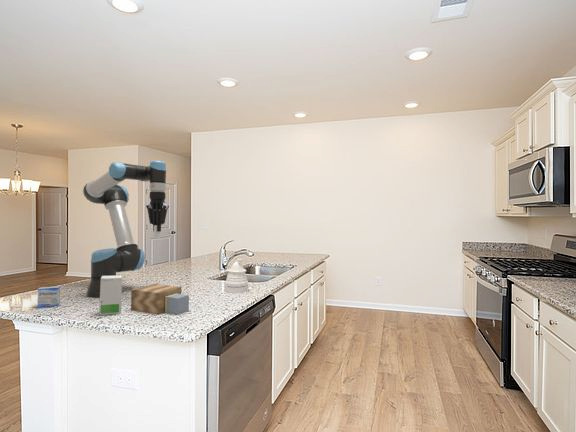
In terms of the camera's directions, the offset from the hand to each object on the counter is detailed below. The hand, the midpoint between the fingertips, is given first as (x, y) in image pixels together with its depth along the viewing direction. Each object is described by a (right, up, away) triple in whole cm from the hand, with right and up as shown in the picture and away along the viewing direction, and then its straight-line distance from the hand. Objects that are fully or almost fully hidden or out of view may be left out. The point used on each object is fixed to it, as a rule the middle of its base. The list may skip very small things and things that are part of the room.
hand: (156, 238), depth 172 cm
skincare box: (-10, -31, -27) cm, 42 cm away
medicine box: (-42, -30, -18) cm, 55 cm away
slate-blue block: (+15, -27, -22) cm, 38 cm away
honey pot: (+38, -31, +19) cm, 52 cm away
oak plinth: (+7, -31, -18) cm, 36 cm away
